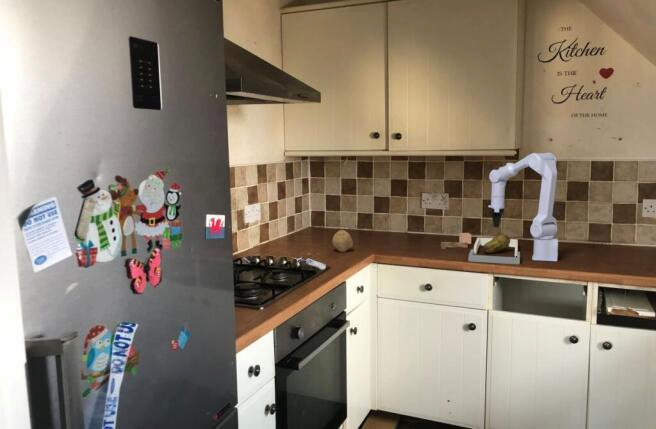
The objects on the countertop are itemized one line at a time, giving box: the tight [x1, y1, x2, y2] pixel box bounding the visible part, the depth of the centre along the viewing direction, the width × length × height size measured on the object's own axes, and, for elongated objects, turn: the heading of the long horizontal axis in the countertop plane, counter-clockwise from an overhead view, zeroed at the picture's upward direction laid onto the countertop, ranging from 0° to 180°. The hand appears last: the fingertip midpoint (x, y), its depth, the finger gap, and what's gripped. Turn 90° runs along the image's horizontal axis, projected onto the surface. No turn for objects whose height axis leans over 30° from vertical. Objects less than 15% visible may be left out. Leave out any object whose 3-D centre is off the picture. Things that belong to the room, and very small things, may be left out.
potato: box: [482, 233, 511, 254], centre depth 243 cm, size 8×13×8 cm, turn 94°
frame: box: [468, 248, 521, 265], centre depth 231 cm, size 20×13×2 cm, turn 71°
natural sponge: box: [331, 229, 354, 253], centre depth 249 cm, size 9×9×10 cm
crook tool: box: [440, 241, 469, 250], centre depth 255 cm, size 12×6×2 cm, turn 82°
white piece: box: [473, 237, 519, 257], centre depth 248 cm, size 18×22×4 cm
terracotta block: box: [458, 232, 472, 245], centre depth 266 cm, size 4×4×4 cm
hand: (496, 225), depth 253 cm, fingers open, 7 cm apart
